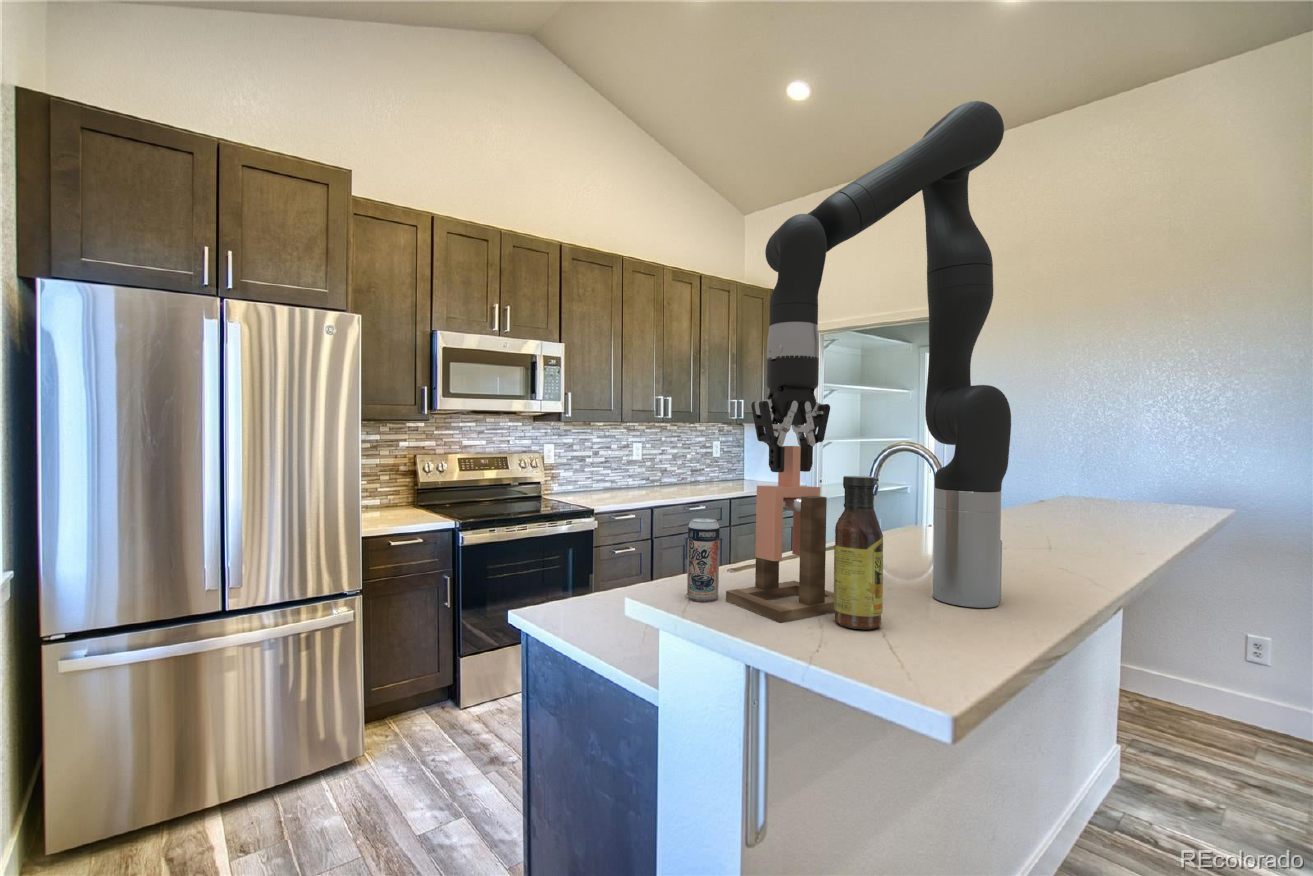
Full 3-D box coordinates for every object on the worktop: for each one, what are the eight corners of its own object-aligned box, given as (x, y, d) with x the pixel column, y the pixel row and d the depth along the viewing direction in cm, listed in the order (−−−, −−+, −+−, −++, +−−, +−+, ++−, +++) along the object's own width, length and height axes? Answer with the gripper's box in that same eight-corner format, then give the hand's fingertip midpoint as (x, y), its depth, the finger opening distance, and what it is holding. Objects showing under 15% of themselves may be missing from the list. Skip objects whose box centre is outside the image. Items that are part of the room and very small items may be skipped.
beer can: (685, 601, 90) (686, 521, 90) (688, 593, 95) (690, 517, 95) (717, 603, 89) (718, 522, 89) (719, 595, 94) (720, 518, 94)
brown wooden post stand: (794, 589, 98) (796, 488, 98) (852, 608, 88) (854, 495, 88) (725, 600, 91) (727, 491, 91) (780, 622, 80) (782, 499, 80)
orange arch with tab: (799, 553, 93) (801, 447, 94) (818, 557, 90) (821, 447, 90) (755, 557, 88) (757, 445, 89) (774, 561, 85) (776, 444, 86)
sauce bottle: (886, 633, 77) (889, 478, 77) (835, 629, 78) (838, 477, 78) (877, 618, 83) (880, 475, 83) (831, 615, 85) (833, 473, 84)
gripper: (809, 362, 96) (807, 469, 96) (738, 355, 89) (736, 471, 89) (846, 358, 89) (844, 472, 90) (773, 349, 82) (771, 474, 82)
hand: (790, 471), depth 89 cm, fingers open, 4 cm apart
